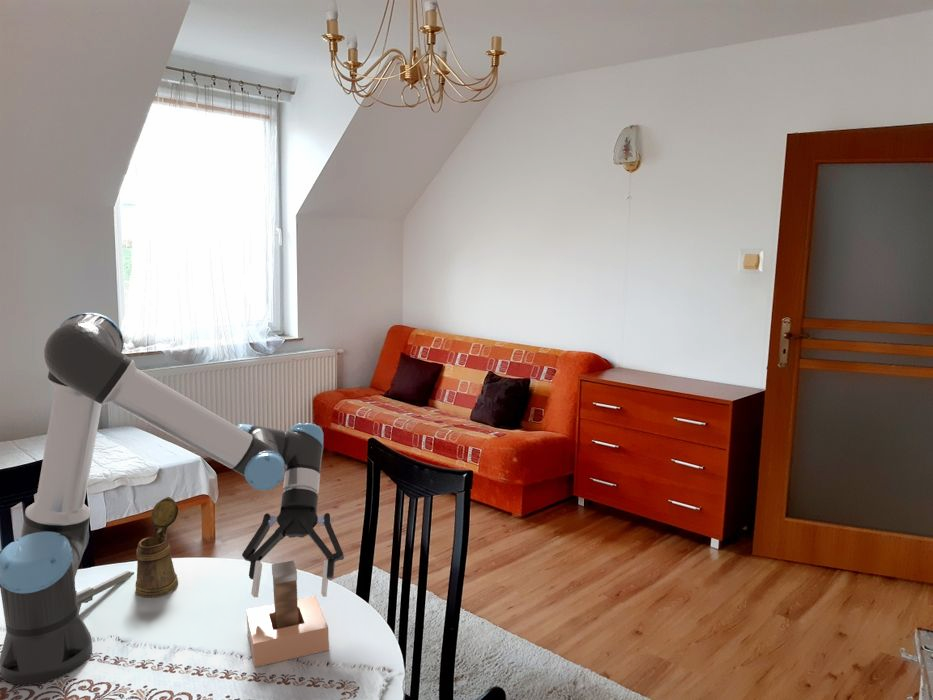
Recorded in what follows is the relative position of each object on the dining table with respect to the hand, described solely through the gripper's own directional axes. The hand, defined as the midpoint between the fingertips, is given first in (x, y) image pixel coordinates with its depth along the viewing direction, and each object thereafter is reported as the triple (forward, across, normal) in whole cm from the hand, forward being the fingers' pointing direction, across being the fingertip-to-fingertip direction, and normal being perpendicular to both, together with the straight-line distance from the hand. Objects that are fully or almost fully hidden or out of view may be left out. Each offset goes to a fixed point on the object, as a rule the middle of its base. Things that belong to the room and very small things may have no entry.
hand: (289, 595), depth 141 cm
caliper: (-4, +44, -18) cm, 48 cm away
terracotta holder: (+7, 0, -6) cm, 9 cm away
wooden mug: (-8, +34, -22) cm, 41 cm away
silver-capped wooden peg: (+7, 0, -6) cm, 9 cm away
